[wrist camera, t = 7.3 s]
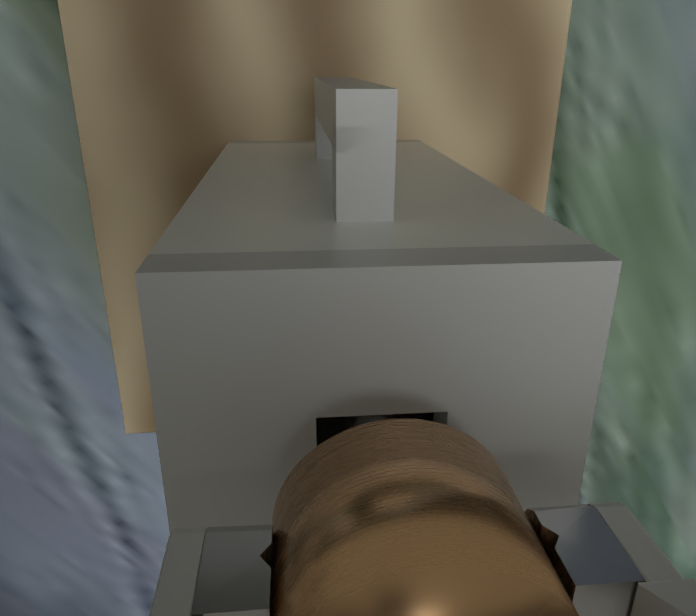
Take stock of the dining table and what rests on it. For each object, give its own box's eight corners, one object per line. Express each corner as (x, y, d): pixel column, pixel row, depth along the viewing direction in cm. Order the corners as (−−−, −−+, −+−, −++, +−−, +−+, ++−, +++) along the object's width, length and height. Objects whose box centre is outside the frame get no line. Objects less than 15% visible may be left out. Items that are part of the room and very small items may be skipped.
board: (133, 416, 31) (126, 433, 30) (67, -21, 24) (53, -26, 22) (508, 399, 33) (518, 414, 32) (558, -13, 26) (574, -17, 24)
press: (241, 317, 28) (184, 639, 12) (224, 74, 24) (110, 97, 8) (410, 312, 29) (558, 610, 13) (421, 74, 25) (652, 97, 9)
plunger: (263, 302, 27) (209, 862, 8) (256, 170, 25) (159, 520, 6) (391, 298, 28) (621, 816, 9) (395, 169, 25) (715, 486, 6)
